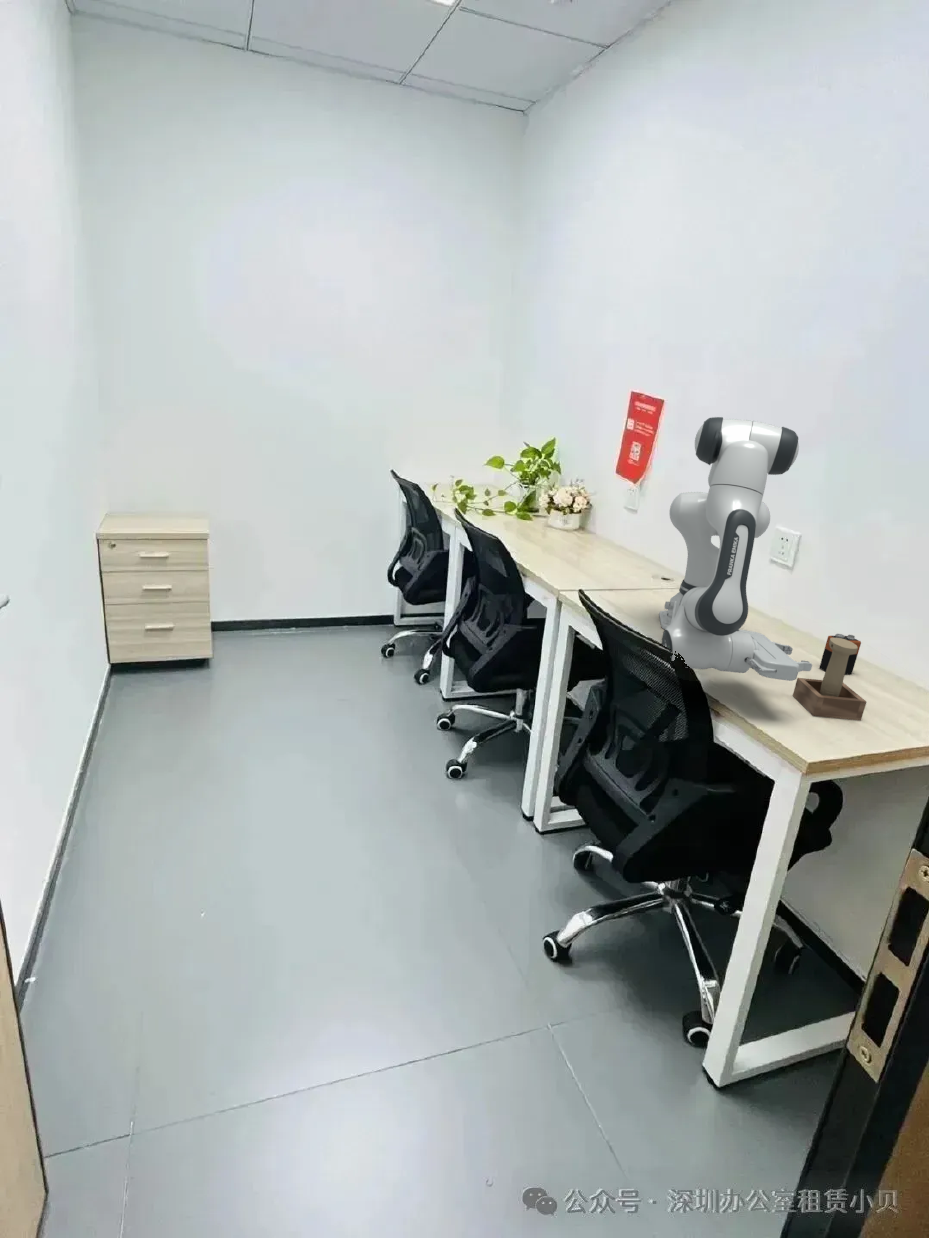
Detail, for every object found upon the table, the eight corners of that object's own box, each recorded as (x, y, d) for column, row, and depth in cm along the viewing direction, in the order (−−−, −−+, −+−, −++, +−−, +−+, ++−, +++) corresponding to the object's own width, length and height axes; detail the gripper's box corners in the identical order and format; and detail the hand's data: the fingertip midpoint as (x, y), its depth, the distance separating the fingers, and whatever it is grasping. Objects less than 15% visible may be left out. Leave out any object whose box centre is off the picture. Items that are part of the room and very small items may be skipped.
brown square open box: (792, 695, 160) (797, 677, 158) (837, 699, 160) (842, 681, 158) (813, 716, 150) (818, 697, 148) (860, 720, 150) (866, 701, 148)
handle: (829, 699, 158) (847, 638, 153) (843, 712, 152) (862, 649, 147) (808, 698, 158) (825, 636, 153) (822, 711, 152) (840, 647, 147)
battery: (818, 668, 179) (828, 631, 176) (840, 668, 180) (851, 632, 177) (829, 674, 175) (840, 638, 172) (852, 675, 176) (863, 638, 173)
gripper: (759, 656, 140) (827, 662, 140) (724, 623, 159) (784, 629, 160) (752, 684, 142) (819, 691, 142) (718, 649, 161) (777, 654, 162)
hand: (800, 658), depth 151 cm, fingers open, 8 cm apart
